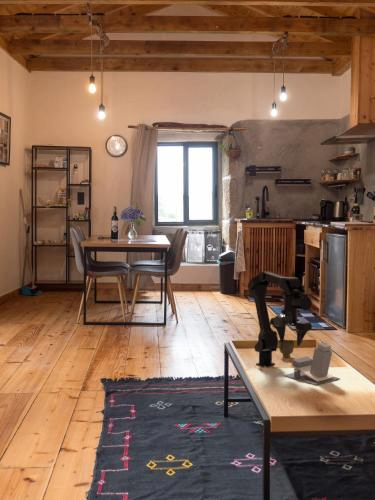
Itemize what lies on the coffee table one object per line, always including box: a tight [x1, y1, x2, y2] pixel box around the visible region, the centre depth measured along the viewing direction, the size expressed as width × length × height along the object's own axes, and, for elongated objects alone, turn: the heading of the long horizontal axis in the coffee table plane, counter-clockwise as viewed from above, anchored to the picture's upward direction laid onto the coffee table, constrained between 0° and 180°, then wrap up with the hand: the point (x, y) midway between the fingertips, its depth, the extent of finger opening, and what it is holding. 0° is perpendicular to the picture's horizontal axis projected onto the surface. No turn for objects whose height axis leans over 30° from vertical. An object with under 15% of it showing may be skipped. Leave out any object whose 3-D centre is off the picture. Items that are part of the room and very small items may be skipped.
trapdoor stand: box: [283, 368, 341, 386], centre depth 220 cm, size 17×15×4 cm
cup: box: [278, 338, 295, 359], centre depth 256 cm, size 8×7×8 cm
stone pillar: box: [310, 342, 333, 378], centre depth 216 cm, size 5×5×13 cm
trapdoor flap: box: [290, 356, 334, 382], centre depth 220 cm, size 14×10×3 cm
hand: (290, 343), depth 225 cm, fingers open, 9 cm apart
